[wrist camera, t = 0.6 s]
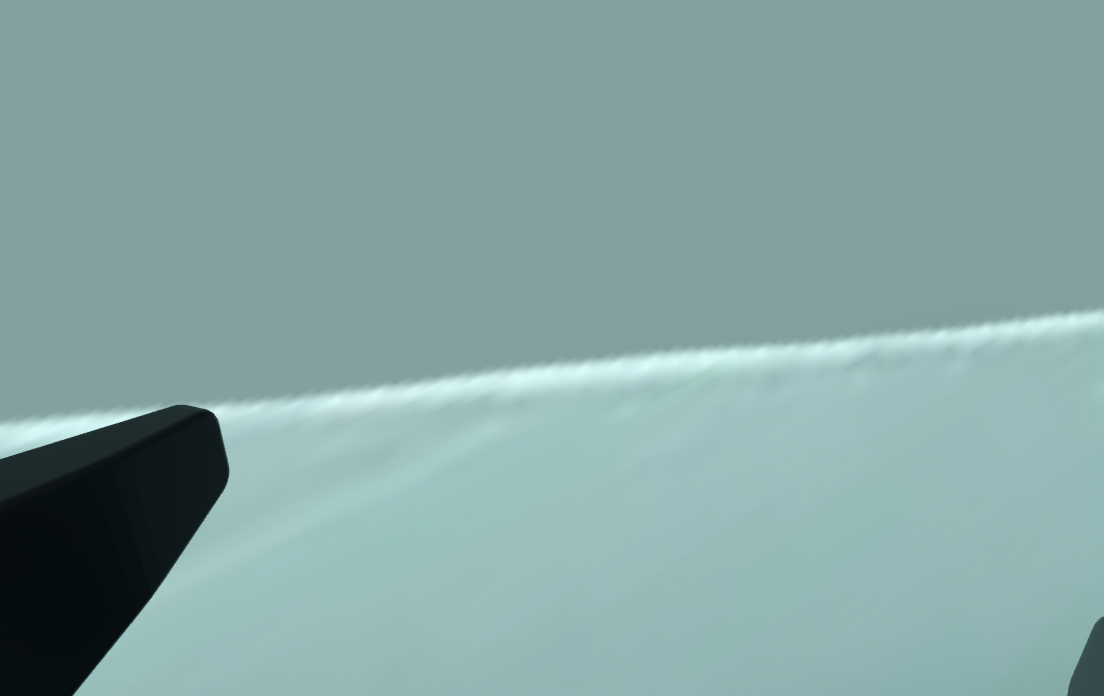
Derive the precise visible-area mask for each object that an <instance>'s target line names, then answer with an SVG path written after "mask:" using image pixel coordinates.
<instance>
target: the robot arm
mask: <svg viewBox="0 0 1104 696" xmlns="http://www.w3.org/2000/svg"><path fill="white" fill-rule="evenodd" d="M228 478H229V464H228V459H227V455H226V451H225V446H224V442H223V438H222V433H221V429H220V425H219V421H218V419H217V417H216V416H215V415H214V413H212V412H211V411H209V410H206V409H202V408H198V407H193V406H189V405H175V406H171V407H168V408H165V409H162V410H158V411H155V412H152V413H149V414H145V415H142V416H139V417H136V418H132V419H129V420H126V421H123V422H119V423H116V424H113V425H110V426H106V427H103V428H100V429H97V430H93V431H90V432H87V433H84V434H80V435H77V436H74V437H71V438H67V439H64V440H61V441H58V442H55V443H51V444H48V445H45V446H42V447H38V448H35V449H32V450H29V451H25V452H22V453H19V454H16V455H12V456H9V457H6V458H3V459H0V696H73V695H74V694H75V692H76V691H77V690H78V689H79V687H80V686H81V685H82V684H83V683H84V681H85V680H86V679H87V678H88V676H89V675H90V674H91V673H92V671H93V670H94V669H95V668H96V666H97V665H98V664H99V663H100V661H101V660H102V659H103V658H104V657H105V655H106V654H107V653H108V652H109V650H110V649H111V648H112V647H113V645H114V644H115V643H116V642H117V640H118V639H119V638H120V637H121V636H122V634H123V633H124V632H125V631H126V629H127V628H128V627H129V626H130V624H131V623H132V622H133V621H134V619H135V618H136V617H137V616H138V615H139V613H140V612H141V611H142V609H143V608H144V607H145V605H146V604H147V603H148V602H149V600H150V599H151V598H152V596H153V595H154V594H155V592H156V591H157V589H158V588H159V586H160V585H161V584H162V582H163V581H164V579H165V578H166V576H167V575H168V573H169V572H170V570H171V569H172V567H173V566H174V564H175V563H176V561H177V560H178V558H179V557H180V555H181V554H182V552H183V551H184V549H185V548H186V546H187V545H188V543H189V542H190V540H191V539H192V537H193V536H194V534H195V533H196V531H197V530H198V528H199V527H200V525H201V524H202V522H203V521H204V519H205V518H206V516H207V515H208V513H209V512H210V510H211V509H212V507H213V506H214V504H215V503H216V501H217V500H218V498H219V497H220V495H221V494H222V492H223V491H224V489H225V487H226V485H227V482H228ZM1067 696H1104V617H1101V618H1100V619H1099V620H1098V621H1097V622H1096V623H1095V625H1094V627H1093V629H1092V631H1091V634H1090V636H1089V638H1088V641H1087V643H1086V645H1085V648H1084V650H1083V652H1082V655H1081V657H1080V659H1079V662H1078V664H1077V666H1076V668H1075V671H1074V673H1073V675H1072V678H1071V681H1070V684H1069V688H1068V695H1067Z"/></svg>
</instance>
